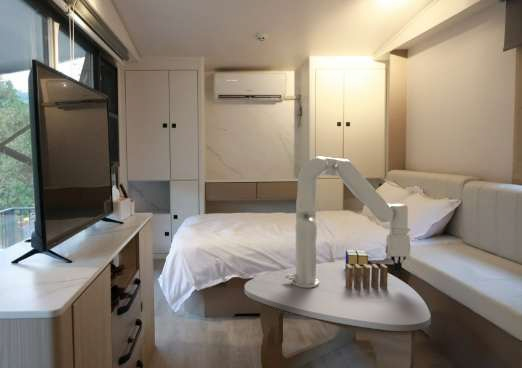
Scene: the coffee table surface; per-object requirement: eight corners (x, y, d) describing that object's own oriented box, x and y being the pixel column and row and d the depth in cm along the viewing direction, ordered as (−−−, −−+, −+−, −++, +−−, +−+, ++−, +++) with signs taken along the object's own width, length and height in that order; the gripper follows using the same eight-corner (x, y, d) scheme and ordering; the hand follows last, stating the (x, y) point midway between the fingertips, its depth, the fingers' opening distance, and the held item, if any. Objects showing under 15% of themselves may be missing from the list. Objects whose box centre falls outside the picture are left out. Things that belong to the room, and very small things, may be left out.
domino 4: (374, 289, 157) (375, 267, 156) (371, 284, 162) (371, 264, 161) (378, 289, 157) (379, 267, 156) (374, 284, 162) (375, 264, 161)
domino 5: (383, 289, 157) (384, 267, 156) (379, 284, 162) (380, 263, 161) (387, 289, 157) (387, 267, 156) (382, 284, 162) (383, 263, 161)
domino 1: (348, 289, 157) (349, 267, 156) (345, 285, 162) (346, 264, 161) (352, 289, 157) (352, 267, 156) (349, 285, 162) (349, 264, 161)
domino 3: (366, 289, 157) (366, 267, 156) (362, 285, 162) (363, 264, 161) (369, 289, 157) (370, 267, 156) (365, 285, 162) (366, 264, 161)
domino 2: (357, 289, 157) (357, 267, 156) (353, 285, 162) (354, 264, 161) (360, 289, 157) (361, 267, 156) (357, 285, 162) (358, 264, 161)
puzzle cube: (345, 267, 187) (345, 249, 186) (364, 268, 185) (365, 250, 184) (347, 274, 177) (347, 255, 176) (367, 275, 175) (368, 255, 174)
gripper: (410, 229, 162) (409, 267, 163) (379, 229, 161) (378, 268, 163) (418, 232, 154) (417, 273, 156) (385, 233, 154) (384, 273, 155)
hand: (397, 270), depth 159 cm, fingers closed
